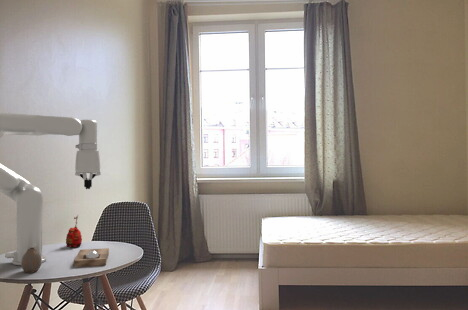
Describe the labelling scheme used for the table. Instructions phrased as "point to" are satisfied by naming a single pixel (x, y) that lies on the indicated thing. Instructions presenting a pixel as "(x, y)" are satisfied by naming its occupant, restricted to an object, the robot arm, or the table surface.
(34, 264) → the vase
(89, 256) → the ball
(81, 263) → the board
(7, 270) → the table surface
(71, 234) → the red clay folk toy
